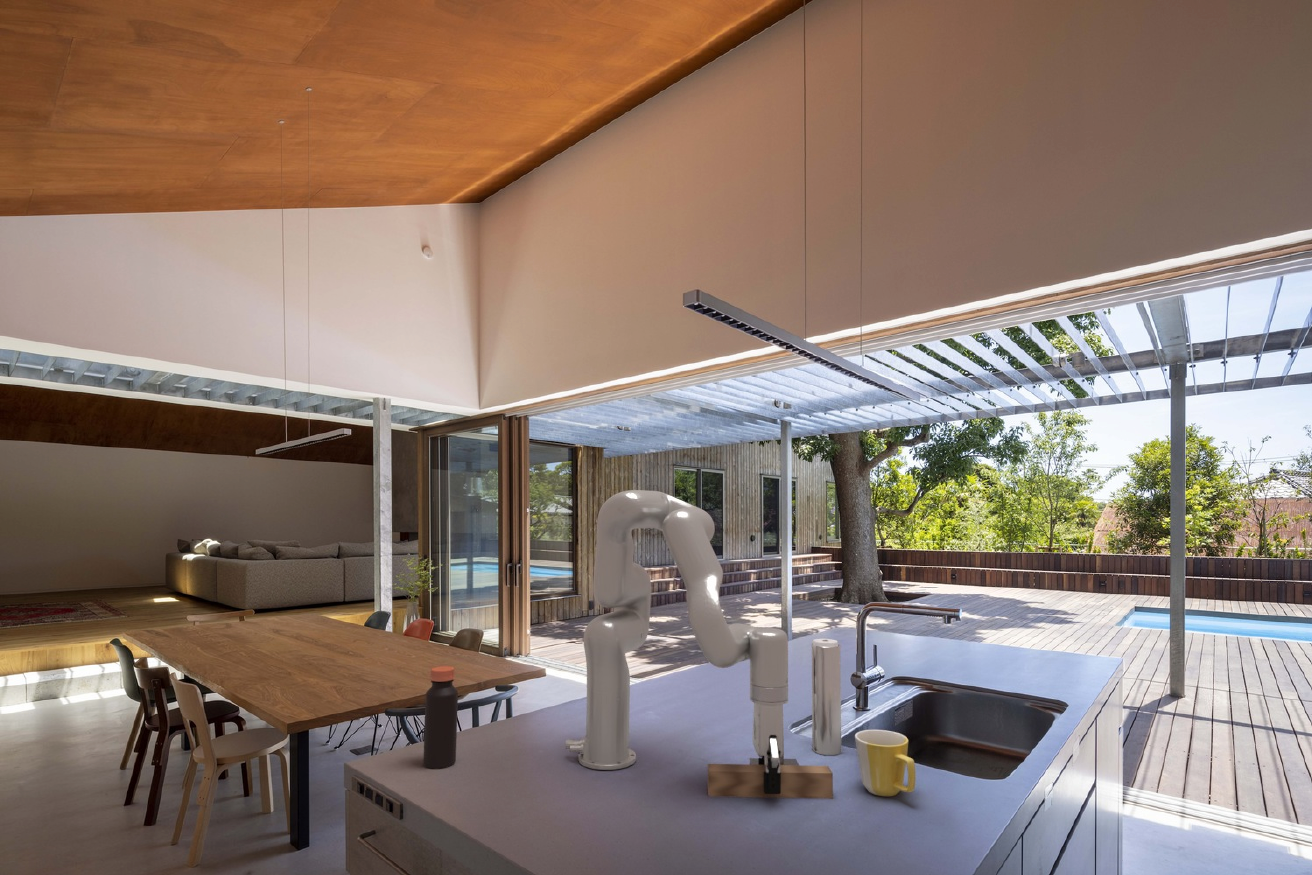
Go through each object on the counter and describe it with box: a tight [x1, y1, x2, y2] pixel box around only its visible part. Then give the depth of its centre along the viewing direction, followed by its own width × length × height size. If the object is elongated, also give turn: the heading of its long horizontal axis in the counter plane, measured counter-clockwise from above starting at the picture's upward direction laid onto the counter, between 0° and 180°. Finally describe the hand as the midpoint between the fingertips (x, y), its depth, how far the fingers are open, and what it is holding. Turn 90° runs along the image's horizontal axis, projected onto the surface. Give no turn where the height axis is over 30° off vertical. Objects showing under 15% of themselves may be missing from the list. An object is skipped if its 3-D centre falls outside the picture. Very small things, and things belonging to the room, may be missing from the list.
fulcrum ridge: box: [749, 744, 800, 765], centre depth 156 cm, size 10×8×8 cm
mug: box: [854, 729, 916, 797], centre depth 145 cm, size 14×10×10 cm
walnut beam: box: [707, 763, 834, 800], centre depth 145 cm, size 24×4×5 cm, turn 89°
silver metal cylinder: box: [811, 638, 842, 756], centre depth 170 cm, size 6×6×25 cm
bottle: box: [422, 665, 459, 770], centre depth 160 cm, size 7×7×20 cm
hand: (769, 785), depth 145 cm, fingers open, 6 cm apart
